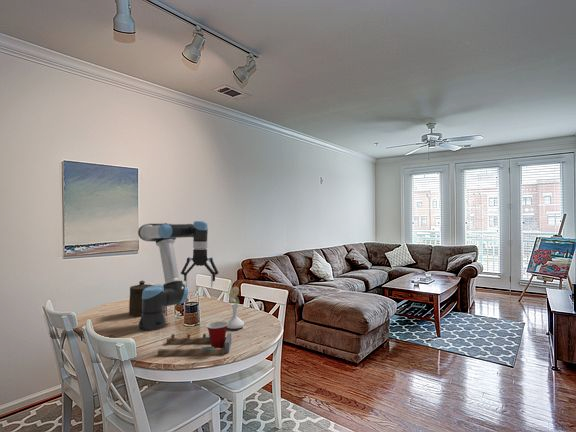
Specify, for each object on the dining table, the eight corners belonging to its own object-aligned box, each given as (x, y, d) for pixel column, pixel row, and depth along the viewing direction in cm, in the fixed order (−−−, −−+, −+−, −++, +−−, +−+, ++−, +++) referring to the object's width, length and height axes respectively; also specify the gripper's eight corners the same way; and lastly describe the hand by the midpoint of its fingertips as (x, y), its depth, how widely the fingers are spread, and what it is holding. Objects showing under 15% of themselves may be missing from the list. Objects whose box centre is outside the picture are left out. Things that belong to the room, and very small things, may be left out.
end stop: (224, 352, 158) (224, 342, 158) (227, 342, 171) (227, 333, 171) (228, 352, 158) (229, 342, 158) (231, 342, 171) (231, 332, 171)
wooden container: (156, 310, 228) (156, 278, 228) (148, 316, 213) (148, 283, 213) (134, 310, 228) (135, 278, 228) (125, 316, 213) (125, 282, 213)
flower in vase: (223, 325, 198) (223, 284, 198) (241, 323, 202) (242, 282, 202) (227, 332, 186) (228, 288, 186) (247, 330, 190) (247, 287, 190)
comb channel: (157, 355, 154) (157, 346, 154) (167, 342, 170) (167, 334, 170) (224, 354, 156) (224, 345, 156) (227, 341, 172) (227, 333, 172)
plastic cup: (215, 341, 172) (215, 319, 172) (232, 345, 167) (232, 322, 167) (201, 349, 162) (201, 325, 162) (218, 353, 157) (219, 328, 157)
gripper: (175, 249, 177) (174, 288, 177) (222, 249, 179) (221, 288, 179) (179, 247, 185) (178, 285, 185) (223, 248, 187) (223, 285, 187)
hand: (199, 287), depth 182 cm, fingers open, 13 cm apart
